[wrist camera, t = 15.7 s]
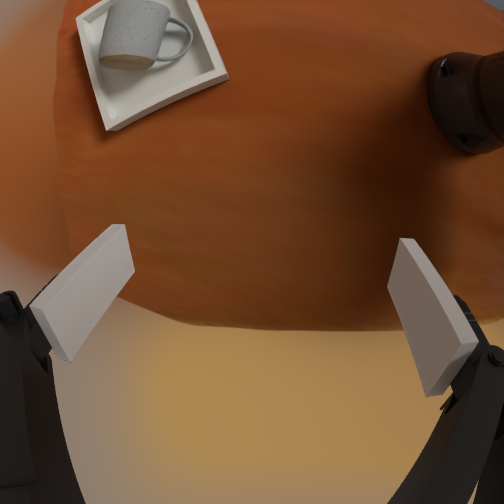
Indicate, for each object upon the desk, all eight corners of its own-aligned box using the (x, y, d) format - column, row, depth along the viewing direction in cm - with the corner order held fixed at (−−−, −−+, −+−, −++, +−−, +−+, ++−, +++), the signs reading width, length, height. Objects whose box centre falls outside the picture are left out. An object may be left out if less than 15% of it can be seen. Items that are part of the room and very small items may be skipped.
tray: (183, -28, 24) (178, -38, 21) (229, 79, 30) (226, 73, 28) (86, 23, 27) (75, 17, 24) (117, 130, 33) (106, 130, 30)
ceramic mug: (112, 74, 29) (82, 62, 22) (125, 21, 26) (99, 2, 19) (188, 72, 30) (170, 56, 22) (200, 17, 27) (187, -9, 19)
